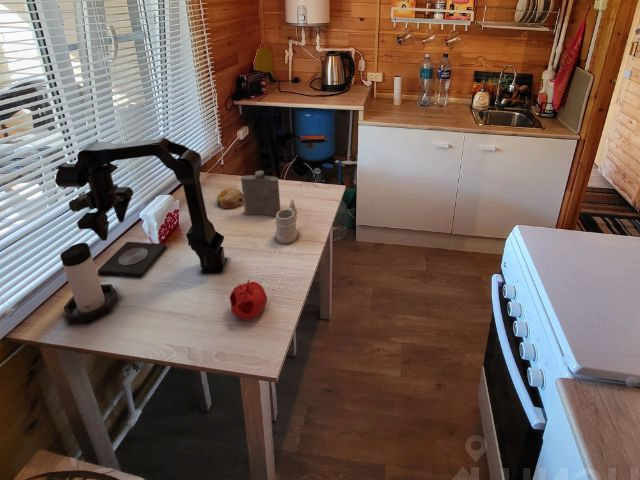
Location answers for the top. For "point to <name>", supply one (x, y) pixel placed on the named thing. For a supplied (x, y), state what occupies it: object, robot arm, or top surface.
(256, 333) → the top surface
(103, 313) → the holder ring
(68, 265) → the travel mug
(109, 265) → the hob plate
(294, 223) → the mug
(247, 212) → the flask
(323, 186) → the top surface
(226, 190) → the bread roll
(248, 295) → the pomegranate
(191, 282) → the top surface
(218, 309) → the top surface
